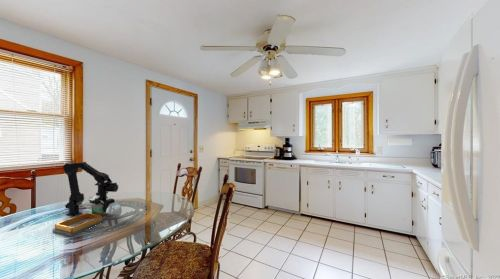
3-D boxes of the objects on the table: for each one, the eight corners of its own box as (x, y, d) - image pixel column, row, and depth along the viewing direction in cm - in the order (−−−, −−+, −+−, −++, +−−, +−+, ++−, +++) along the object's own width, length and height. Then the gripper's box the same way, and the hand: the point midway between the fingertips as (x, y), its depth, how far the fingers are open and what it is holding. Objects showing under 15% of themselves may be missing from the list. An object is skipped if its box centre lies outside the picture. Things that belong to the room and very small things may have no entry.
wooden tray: (52, 232, 125) (52, 224, 125) (87, 218, 145) (87, 211, 145) (71, 237, 121) (71, 229, 121) (104, 222, 141) (104, 215, 141)
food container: (97, 219, 145) (97, 206, 145) (90, 218, 146) (90, 204, 146) (111, 213, 157) (112, 200, 157) (105, 211, 158) (106, 199, 158)
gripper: (81, 192, 145) (80, 212, 146) (101, 195, 141) (100, 217, 141) (96, 188, 156) (96, 207, 157) (115, 191, 152) (114, 211, 152)
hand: (101, 211), depth 152 cm, fingers closed on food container, 6 cm apart
